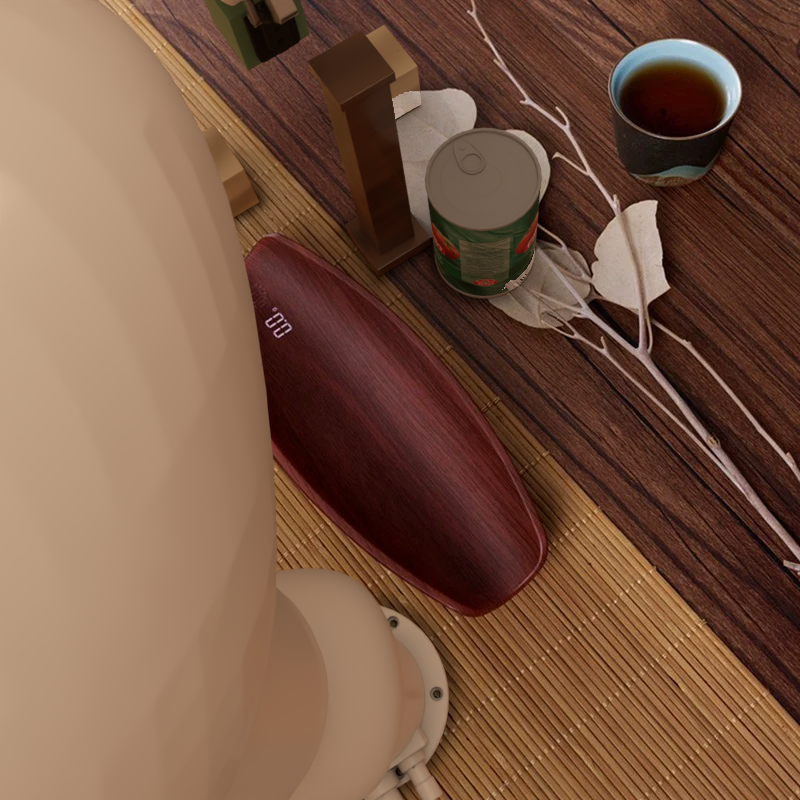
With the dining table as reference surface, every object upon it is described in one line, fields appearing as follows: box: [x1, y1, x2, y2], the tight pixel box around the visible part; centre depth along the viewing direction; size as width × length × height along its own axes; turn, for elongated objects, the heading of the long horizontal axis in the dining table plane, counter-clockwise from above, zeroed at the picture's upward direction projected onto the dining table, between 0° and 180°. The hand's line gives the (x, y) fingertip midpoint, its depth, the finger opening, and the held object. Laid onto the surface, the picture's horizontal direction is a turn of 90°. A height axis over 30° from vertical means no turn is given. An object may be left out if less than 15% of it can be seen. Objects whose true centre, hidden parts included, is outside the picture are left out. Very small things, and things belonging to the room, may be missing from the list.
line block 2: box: [365, 24, 421, 98], centre depth 76 cm, size 5×5×5 cm
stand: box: [307, 30, 432, 278], centre depth 64 cm, size 5×5×21 cm
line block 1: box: [202, 124, 260, 219], centre depth 74 cm, size 5×5×5 cm
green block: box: [204, 0, 311, 72], centre depth 62 cm, size 5×5×5 cm
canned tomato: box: [424, 127, 543, 300], centre depth 67 cm, size 8×8×11 cm
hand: (258, 20), depth 63 cm, fingers closed on green block, 5 cm apart
